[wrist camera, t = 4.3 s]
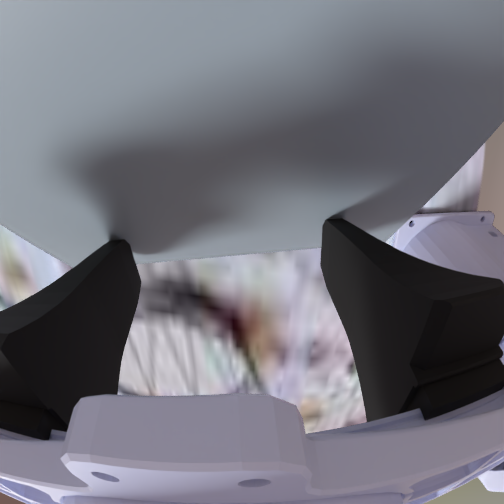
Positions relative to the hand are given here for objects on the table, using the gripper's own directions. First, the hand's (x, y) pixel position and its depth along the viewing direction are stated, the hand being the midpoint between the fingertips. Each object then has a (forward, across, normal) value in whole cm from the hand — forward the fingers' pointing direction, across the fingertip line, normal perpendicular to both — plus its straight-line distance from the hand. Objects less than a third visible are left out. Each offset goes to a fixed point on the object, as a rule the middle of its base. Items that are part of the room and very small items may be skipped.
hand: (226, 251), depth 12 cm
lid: (+2, 0, +1) cm, 2 cm away
